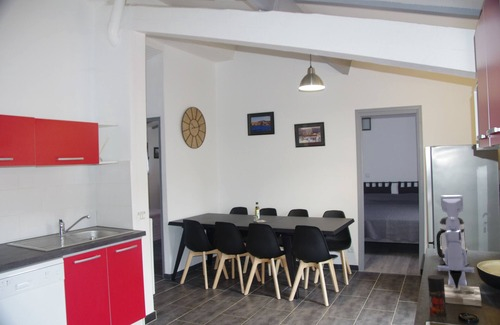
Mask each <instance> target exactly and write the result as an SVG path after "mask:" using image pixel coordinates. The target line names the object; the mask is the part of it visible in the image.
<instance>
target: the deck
mask: <svg viewBox="0 0 500 325" xmlns="http://www.w3.org/2000/svg"><path fill="white" fill-rule="evenodd" d="M453 286H454V285H448V284H444V288H445V303H447V304H454V305H464V306H465V305H466V306H478V307H482V296H481V290H480V287H479V286H468V285H467V286H460V288H461V290H460V291H459V292H455V291H453Z"/></svg>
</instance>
